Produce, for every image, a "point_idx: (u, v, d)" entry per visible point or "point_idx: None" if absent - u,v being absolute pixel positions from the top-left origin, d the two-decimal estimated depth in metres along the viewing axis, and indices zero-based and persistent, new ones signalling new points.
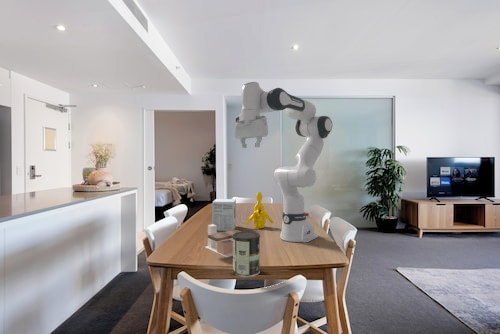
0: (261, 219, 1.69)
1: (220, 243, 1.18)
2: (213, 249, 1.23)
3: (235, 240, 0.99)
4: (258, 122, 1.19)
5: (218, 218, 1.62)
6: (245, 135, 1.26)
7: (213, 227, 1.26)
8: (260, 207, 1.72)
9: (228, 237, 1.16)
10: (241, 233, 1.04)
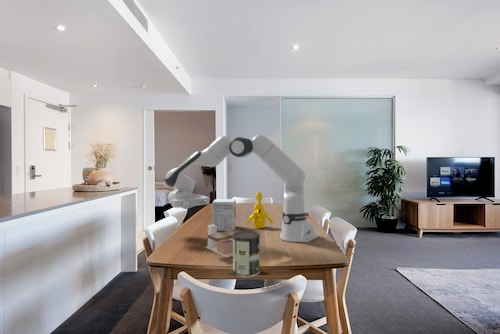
0: (261, 219, 1.69)
1: (220, 243, 1.18)
2: (213, 249, 1.23)
3: (235, 240, 0.99)
4: None
5: (218, 218, 1.62)
6: None
7: (213, 227, 1.26)
8: (260, 207, 1.72)
9: (228, 237, 1.16)
10: (241, 233, 1.04)
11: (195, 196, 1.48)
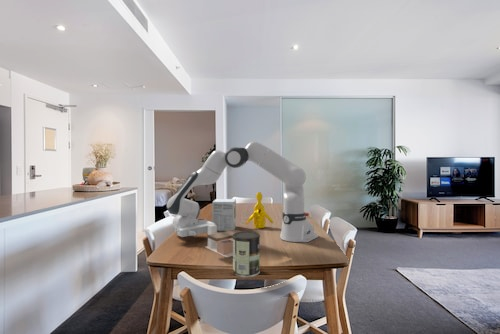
0: (261, 219, 1.69)
1: (220, 243, 1.18)
2: (213, 249, 1.23)
3: (235, 240, 0.99)
4: None
5: (218, 218, 1.62)
6: None
7: (213, 227, 1.26)
8: (260, 207, 1.72)
9: (228, 237, 1.16)
10: (241, 233, 1.04)
11: (201, 222, 1.44)
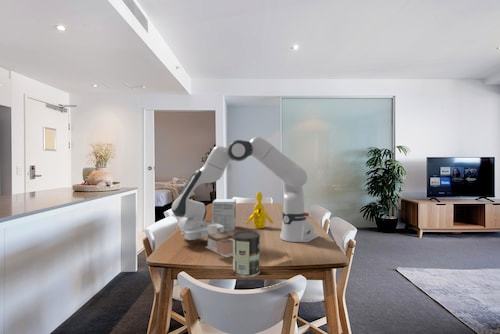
0: (261, 219, 1.69)
1: (220, 243, 1.18)
2: (213, 249, 1.23)
3: (235, 240, 0.99)
4: None
5: (218, 218, 1.62)
6: None
7: (213, 227, 1.26)
8: (260, 207, 1.72)
9: (228, 237, 1.16)
10: (241, 233, 1.04)
11: None
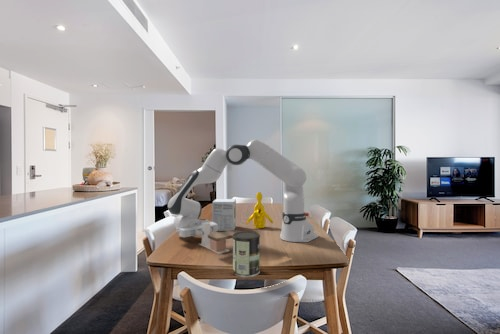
0: (261, 219, 1.69)
1: (213, 240, 1.22)
2: (207, 246, 1.28)
3: (235, 240, 0.99)
4: None
5: (218, 217, 1.62)
6: None
7: (207, 225, 1.31)
8: (260, 207, 1.72)
9: (228, 237, 1.16)
10: (241, 233, 1.04)
11: None
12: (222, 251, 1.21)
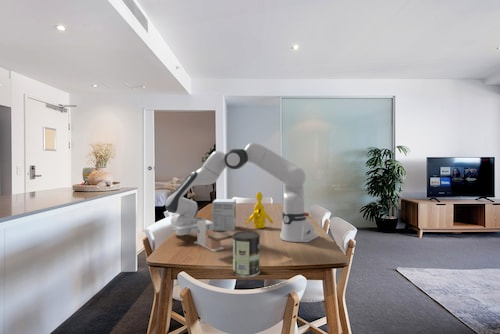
0: (261, 219, 1.69)
1: (208, 238, 1.26)
2: (202, 244, 1.31)
3: (235, 240, 0.99)
4: None
5: (218, 218, 1.62)
6: None
7: (202, 223, 1.34)
8: (260, 207, 1.72)
9: (228, 237, 1.16)
10: (241, 233, 1.04)
11: None
12: (217, 249, 1.24)
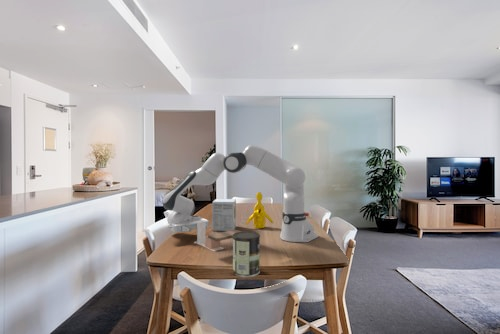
0: (261, 219, 1.69)
1: (208, 238, 1.26)
2: (202, 244, 1.31)
3: (235, 240, 0.99)
4: None
5: (218, 218, 1.62)
6: None
7: (202, 223, 1.34)
8: (260, 207, 1.72)
9: (228, 237, 1.16)
10: (241, 233, 1.04)
11: (195, 219, 1.48)
12: (217, 249, 1.24)
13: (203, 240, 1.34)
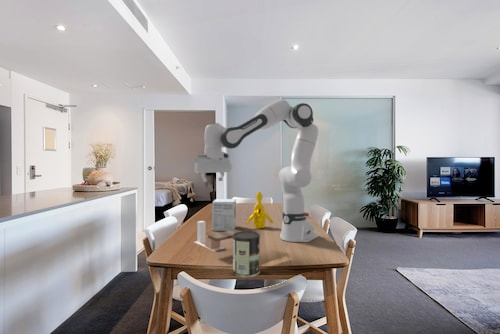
0: (261, 219, 1.69)
1: (208, 238, 1.26)
2: (202, 244, 1.31)
3: (235, 240, 0.99)
4: None
5: (218, 218, 1.62)
6: None
7: (202, 223, 1.34)
8: (260, 207, 1.72)
9: (228, 237, 1.16)
10: (241, 233, 1.04)
11: (222, 161, 1.42)
12: (217, 249, 1.24)
13: (203, 240, 1.34)
